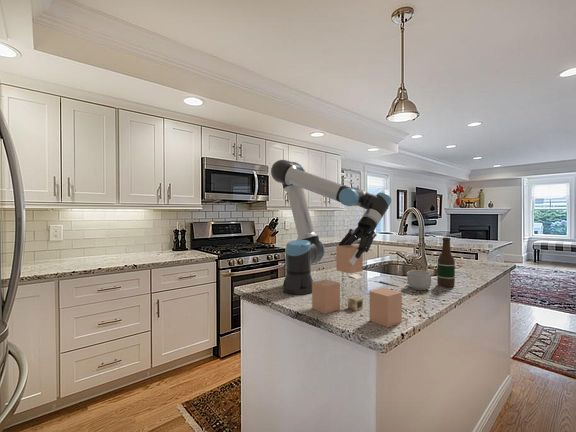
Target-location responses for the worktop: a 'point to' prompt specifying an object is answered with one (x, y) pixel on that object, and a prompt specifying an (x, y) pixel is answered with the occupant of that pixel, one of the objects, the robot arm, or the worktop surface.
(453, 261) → the beer bottle
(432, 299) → the worktop surface
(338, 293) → the peach colored cube
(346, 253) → the smooth terracotta cube
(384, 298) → the tan peach cube
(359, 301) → the beige cube
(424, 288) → the teacup
